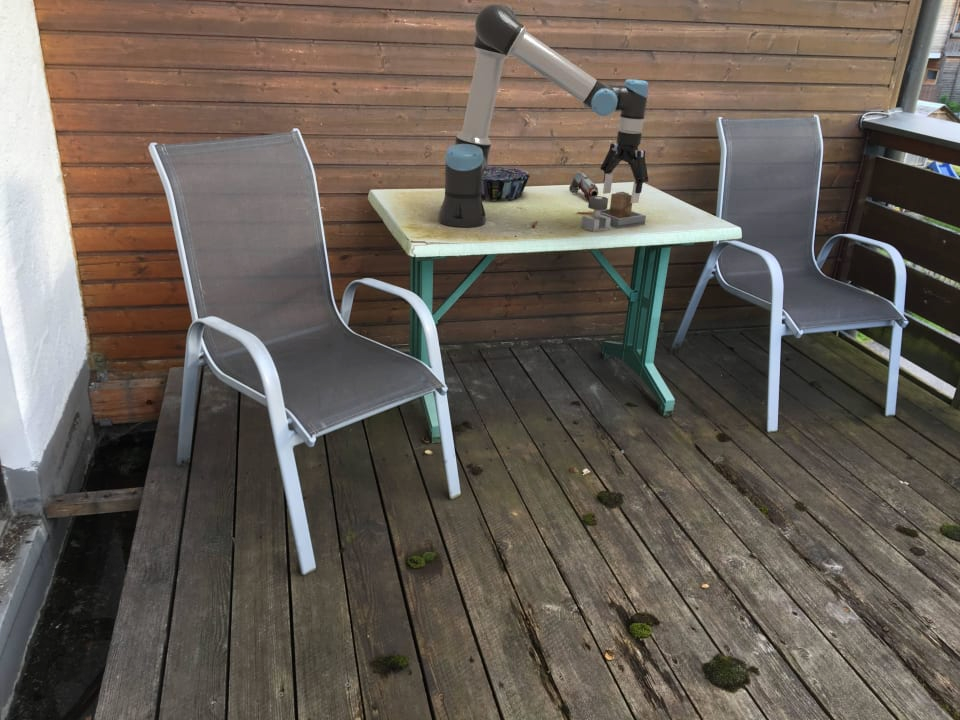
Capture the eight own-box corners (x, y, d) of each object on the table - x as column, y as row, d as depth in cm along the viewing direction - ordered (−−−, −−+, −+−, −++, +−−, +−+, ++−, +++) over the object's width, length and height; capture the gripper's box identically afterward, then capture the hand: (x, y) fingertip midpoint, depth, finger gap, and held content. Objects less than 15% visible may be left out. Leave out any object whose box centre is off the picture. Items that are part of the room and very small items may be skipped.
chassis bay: (617, 228, 250) (618, 219, 248) (593, 219, 259) (594, 210, 257) (644, 224, 256) (646, 215, 254) (620, 216, 265) (621, 207, 263)
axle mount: (593, 232, 244) (594, 220, 243) (580, 227, 249) (582, 215, 247) (609, 229, 248) (611, 218, 246) (597, 225, 252) (598, 213, 251)
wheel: (595, 220, 243) (597, 200, 240) (583, 215, 247) (585, 196, 245) (609, 218, 246) (612, 198, 243) (597, 213, 250) (599, 194, 248)
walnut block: (618, 221, 254) (622, 195, 250) (608, 217, 257) (611, 192, 254) (630, 219, 256) (633, 194, 252) (620, 216, 260) (623, 190, 256)
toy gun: (585, 211, 283) (590, 186, 277) (566, 190, 298) (570, 165, 292) (596, 211, 284) (601, 185, 278) (576, 189, 299) (581, 165, 294)
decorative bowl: (521, 211, 273) (525, 183, 269) (445, 198, 276) (448, 170, 272) (530, 195, 296) (534, 169, 292) (461, 184, 299) (463, 158, 295)
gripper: (666, 138, 237) (655, 206, 246) (612, 124, 256) (603, 188, 265) (649, 138, 234) (638, 207, 243) (595, 125, 252) (587, 190, 261)
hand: (620, 198), depth 254 cm, fingers open, 13 cm apart
